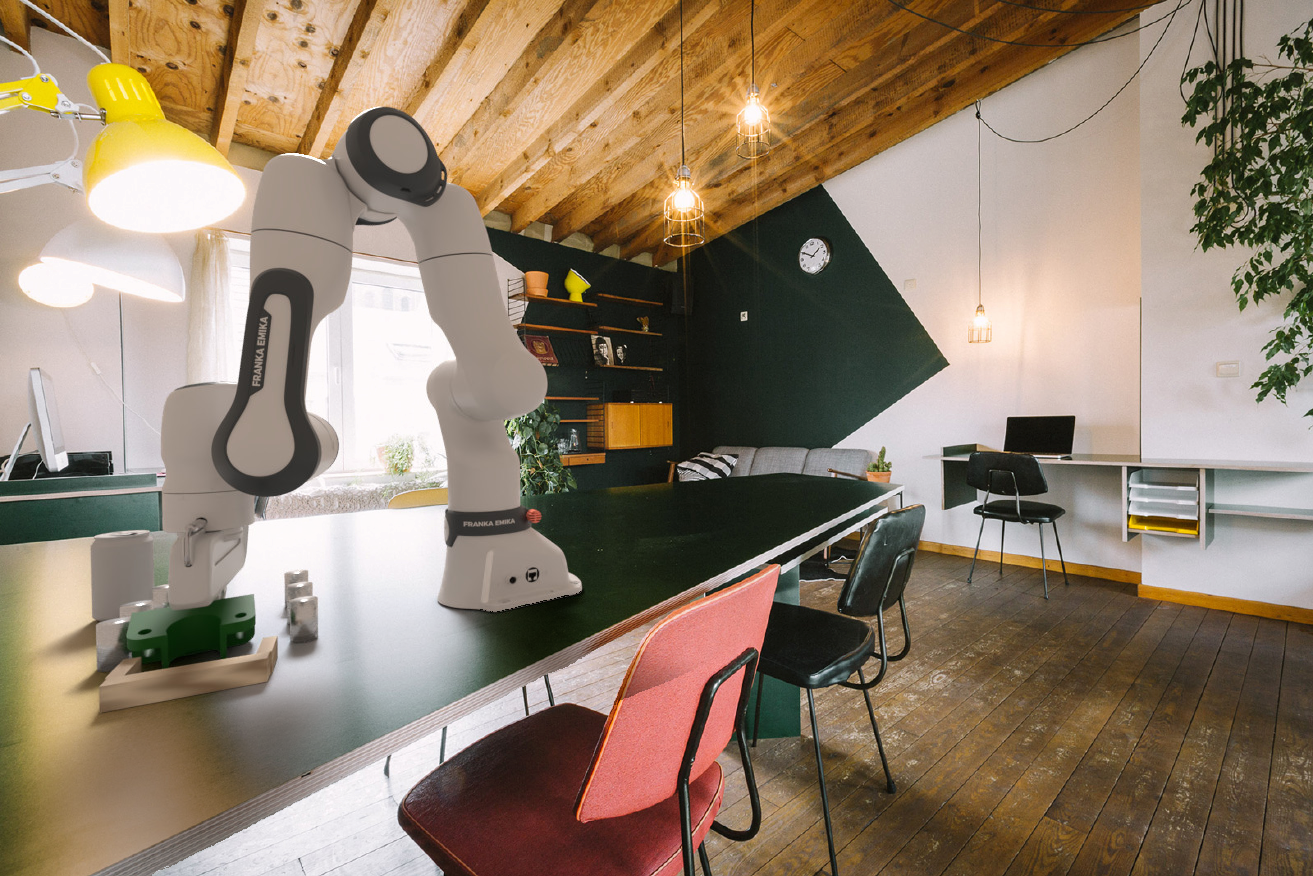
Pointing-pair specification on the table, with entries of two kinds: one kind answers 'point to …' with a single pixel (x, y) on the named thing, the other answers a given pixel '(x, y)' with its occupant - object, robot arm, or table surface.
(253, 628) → the clamp
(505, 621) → the table surface
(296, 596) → the spacers
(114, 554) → the beverage can
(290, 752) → the table surface
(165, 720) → the table surface
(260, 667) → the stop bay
